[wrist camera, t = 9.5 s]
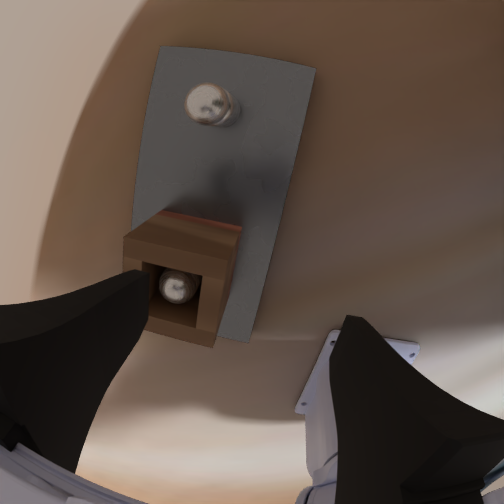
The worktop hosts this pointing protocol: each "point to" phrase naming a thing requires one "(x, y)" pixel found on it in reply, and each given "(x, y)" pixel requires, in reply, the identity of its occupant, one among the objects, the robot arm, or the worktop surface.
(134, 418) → the worktop surface
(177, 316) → the sleeve
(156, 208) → the pin board
